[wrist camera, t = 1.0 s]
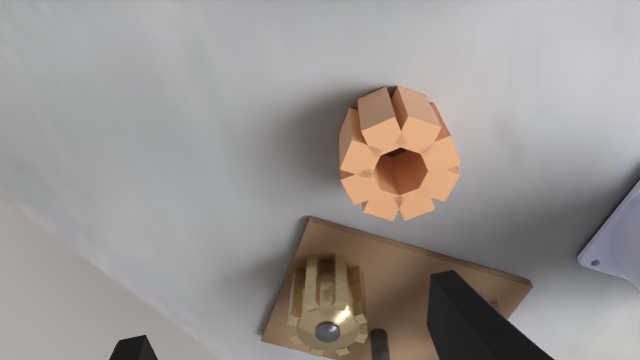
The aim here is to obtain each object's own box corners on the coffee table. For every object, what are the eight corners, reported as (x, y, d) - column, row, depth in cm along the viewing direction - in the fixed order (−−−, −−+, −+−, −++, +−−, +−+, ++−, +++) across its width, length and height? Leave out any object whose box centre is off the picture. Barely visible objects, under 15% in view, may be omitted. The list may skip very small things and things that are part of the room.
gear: (375, 264, 29) (381, 316, 25) (349, 313, 31) (351, 368, 27) (305, 244, 28) (301, 295, 24) (284, 296, 30) (277, 350, 27)
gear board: (529, 280, 30) (553, 326, 27) (451, 381, 35) (463, 430, 32) (309, 215, 28) (306, 256, 24) (262, 334, 33) (254, 381, 30)
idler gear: (459, 107, 24) (480, 140, 21) (415, 190, 27) (427, 231, 23) (362, 73, 23) (367, 102, 20) (327, 162, 26) (326, 201, 22)
